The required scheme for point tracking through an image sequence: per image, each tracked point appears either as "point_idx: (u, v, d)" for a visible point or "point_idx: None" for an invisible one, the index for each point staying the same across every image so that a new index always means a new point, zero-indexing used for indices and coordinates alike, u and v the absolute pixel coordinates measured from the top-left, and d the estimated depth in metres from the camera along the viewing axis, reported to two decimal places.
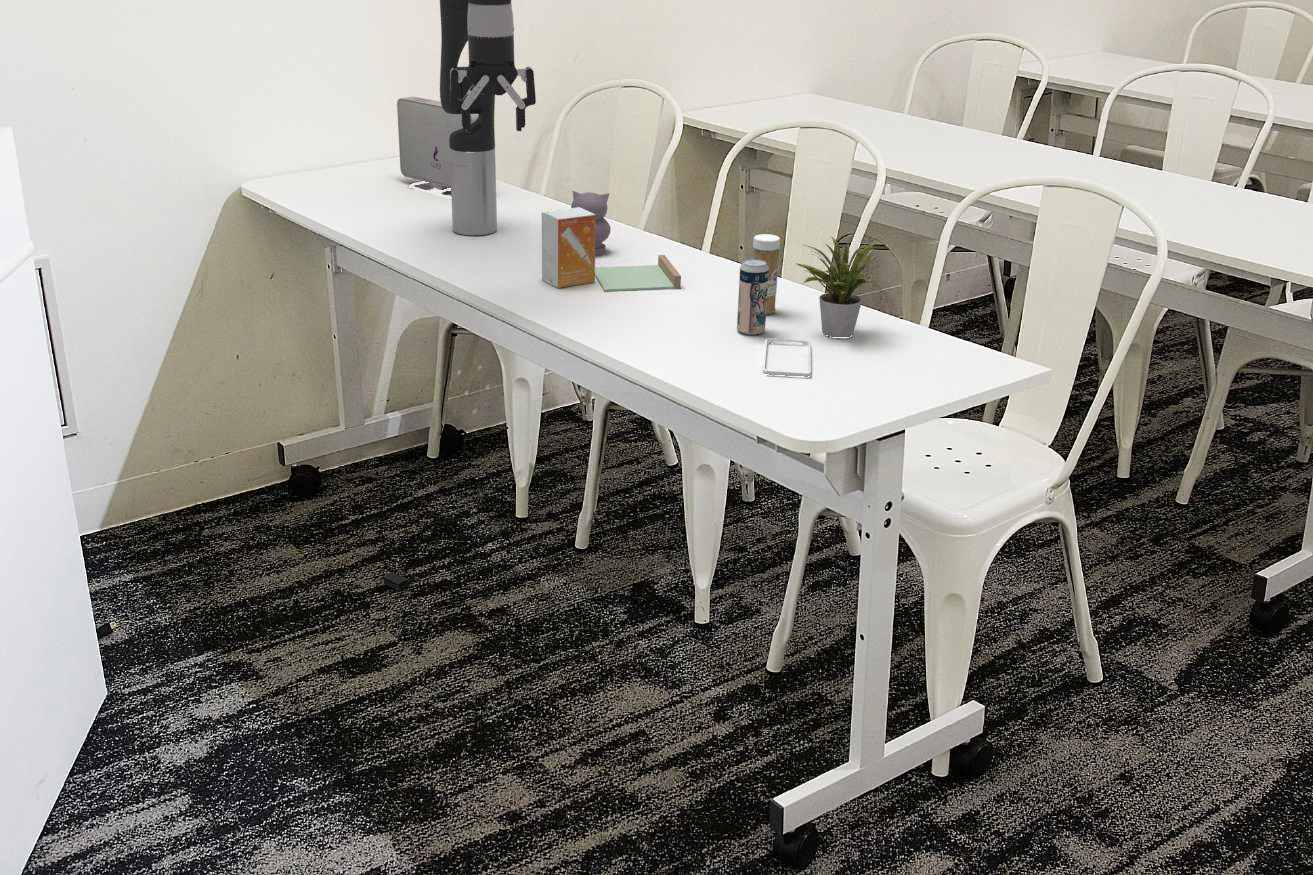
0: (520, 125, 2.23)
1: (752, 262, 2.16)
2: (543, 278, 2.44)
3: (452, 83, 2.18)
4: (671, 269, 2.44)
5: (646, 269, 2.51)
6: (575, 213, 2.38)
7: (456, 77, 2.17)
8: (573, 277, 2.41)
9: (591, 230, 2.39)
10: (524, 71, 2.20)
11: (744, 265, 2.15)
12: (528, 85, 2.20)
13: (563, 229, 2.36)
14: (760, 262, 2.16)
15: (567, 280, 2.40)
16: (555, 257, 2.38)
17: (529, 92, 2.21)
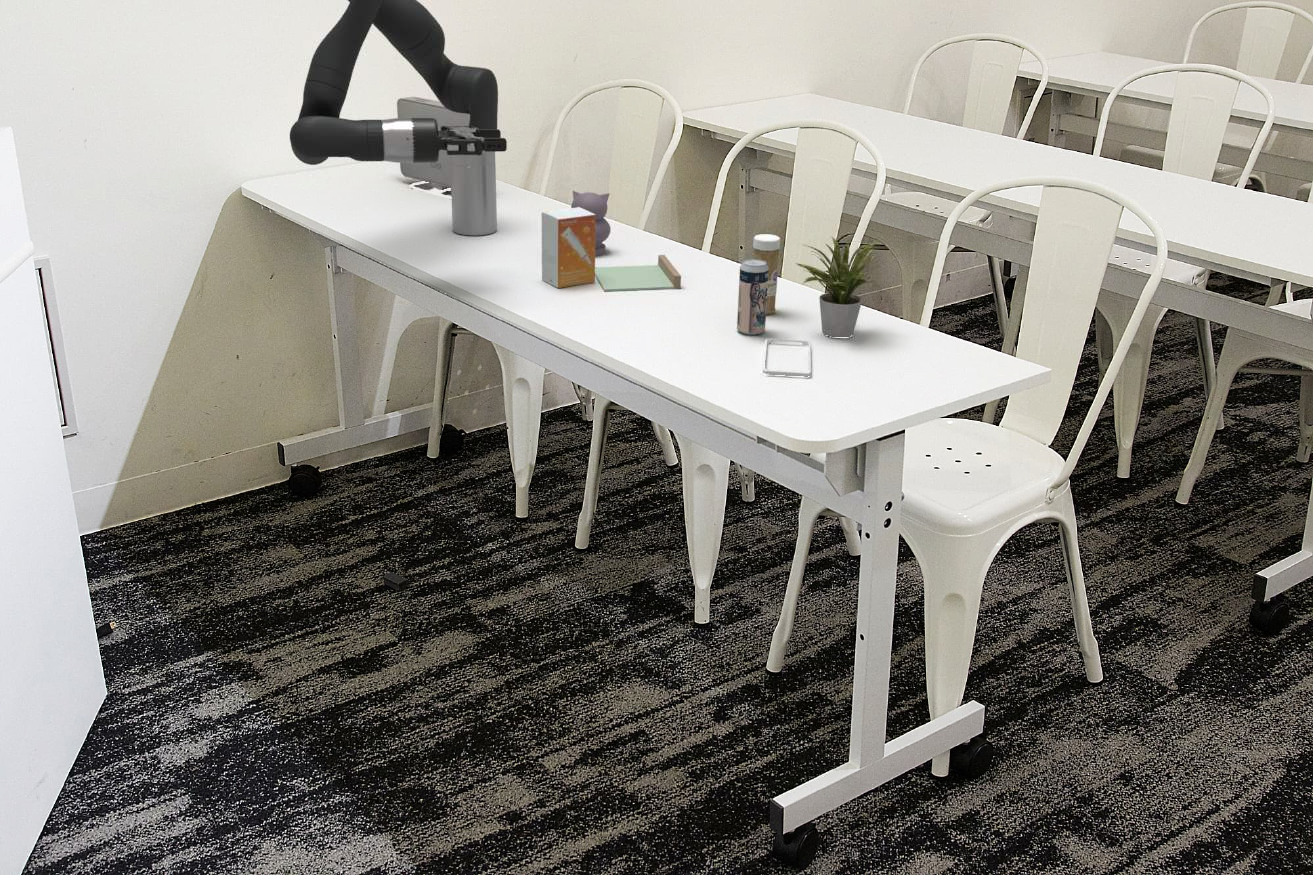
0: None
1: (752, 262, 2.16)
2: (543, 278, 2.44)
3: None
4: (671, 269, 2.44)
5: (646, 269, 2.51)
6: (575, 213, 2.38)
7: None
8: (573, 277, 2.41)
9: (591, 230, 2.39)
10: None
11: (744, 265, 2.15)
12: None
13: (563, 229, 2.36)
14: (760, 262, 2.16)
15: (567, 280, 2.40)
16: (555, 257, 2.38)
17: None
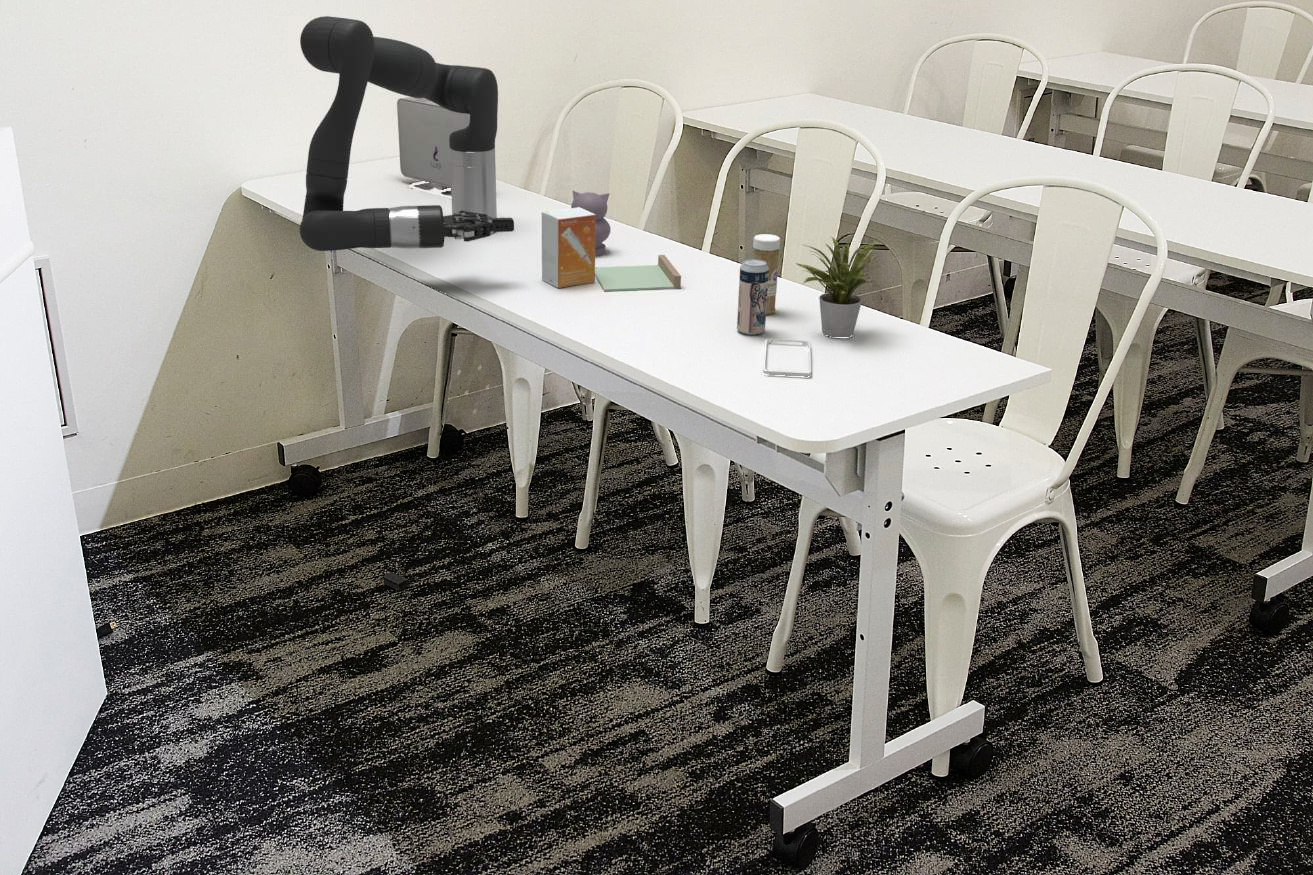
0: None
1: (752, 262, 2.16)
2: (543, 278, 2.44)
3: None
4: (671, 269, 2.44)
5: (646, 269, 2.51)
6: (575, 213, 2.38)
7: None
8: (573, 277, 2.41)
9: (591, 230, 2.39)
10: (463, 235, 2.31)
11: (744, 265, 2.15)
12: None
13: (564, 229, 2.36)
14: (760, 262, 2.16)
15: (567, 280, 2.40)
16: (555, 257, 2.38)
17: None
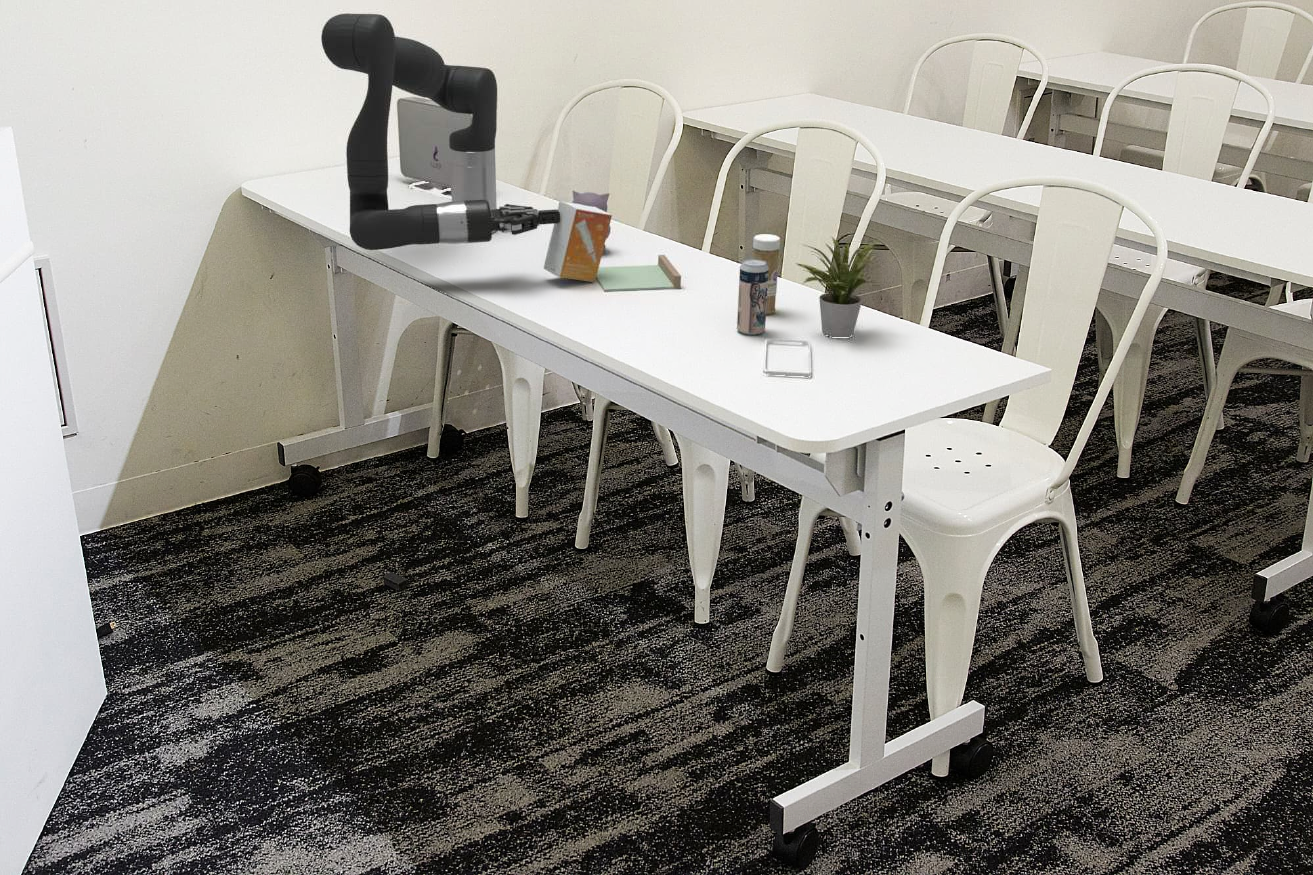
0: (554, 223, 2.39)
1: (752, 262, 2.16)
2: (545, 267, 2.43)
3: None
4: (671, 269, 2.44)
5: (646, 269, 2.51)
6: (592, 209, 2.40)
7: None
8: (576, 271, 2.41)
9: (604, 229, 2.40)
10: None
11: (744, 265, 2.15)
12: None
13: (579, 220, 2.37)
14: (760, 262, 2.16)
15: (570, 272, 2.40)
16: (563, 246, 2.38)
17: None
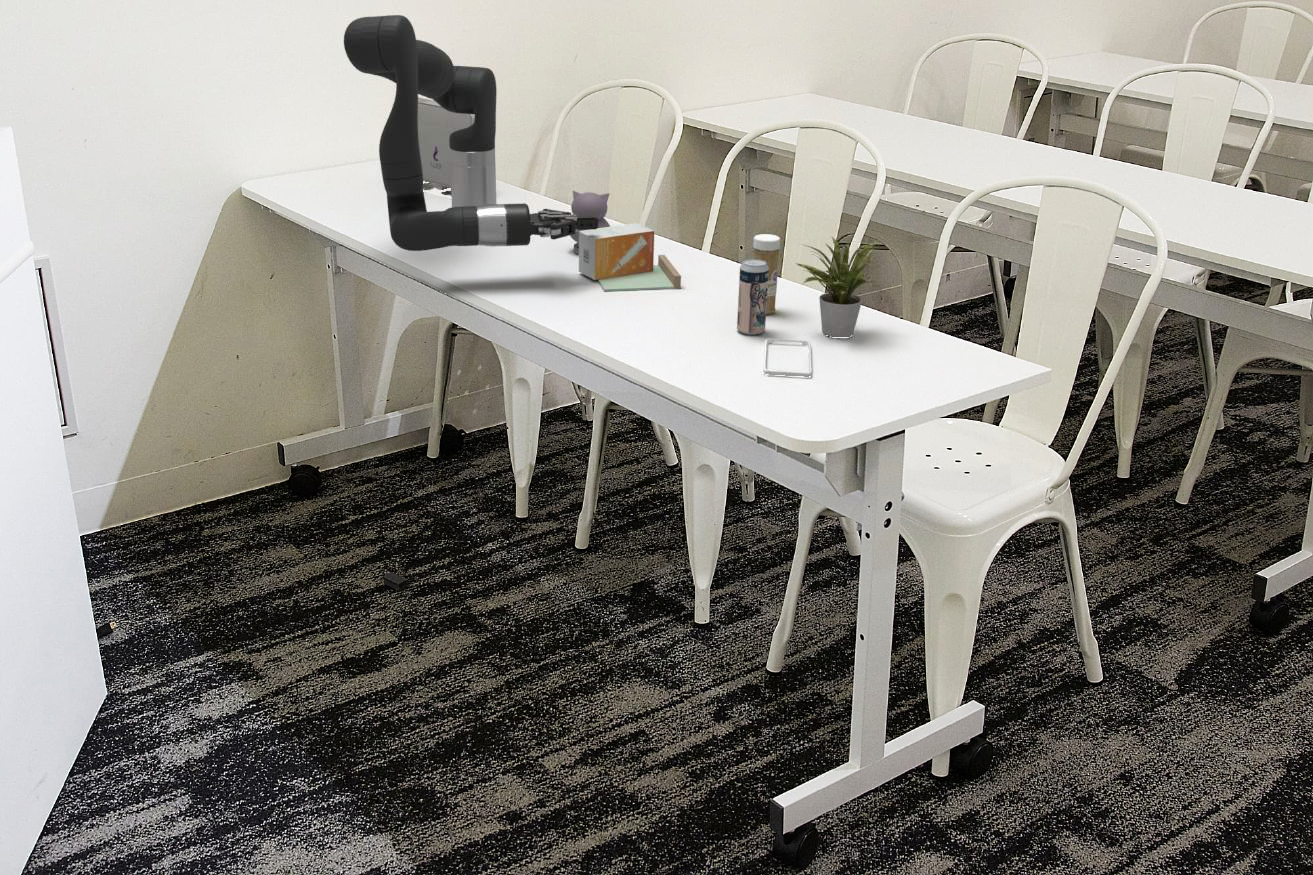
0: None
1: (752, 262, 2.16)
2: (582, 231, 2.45)
3: None
4: (671, 269, 2.44)
5: None
6: None
7: None
8: (602, 255, 2.42)
9: (640, 268, 2.48)
10: None
11: (744, 265, 2.15)
12: None
13: (645, 238, 2.46)
14: (760, 262, 2.16)
15: (601, 248, 2.42)
16: (618, 233, 2.44)
17: None
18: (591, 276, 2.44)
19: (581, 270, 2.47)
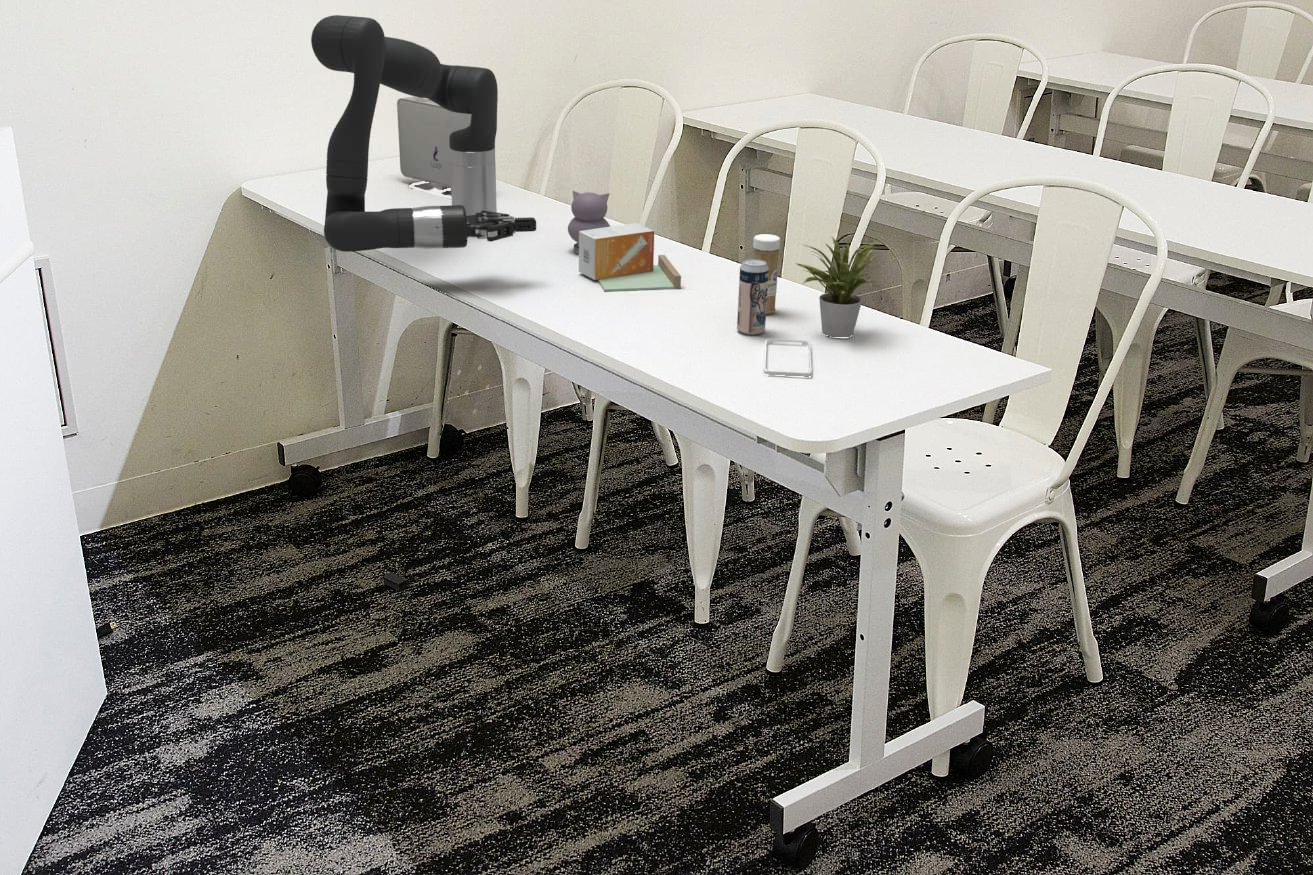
0: None
1: (752, 262, 2.16)
2: (582, 231, 2.45)
3: None
4: (671, 269, 2.44)
5: None
6: None
7: None
8: (602, 255, 2.42)
9: (640, 268, 2.48)
10: None
11: (744, 265, 2.15)
12: None
13: (645, 238, 2.46)
14: (760, 262, 2.16)
15: (601, 248, 2.42)
16: (618, 233, 2.44)
17: None
18: (591, 276, 2.44)
19: (581, 270, 2.47)
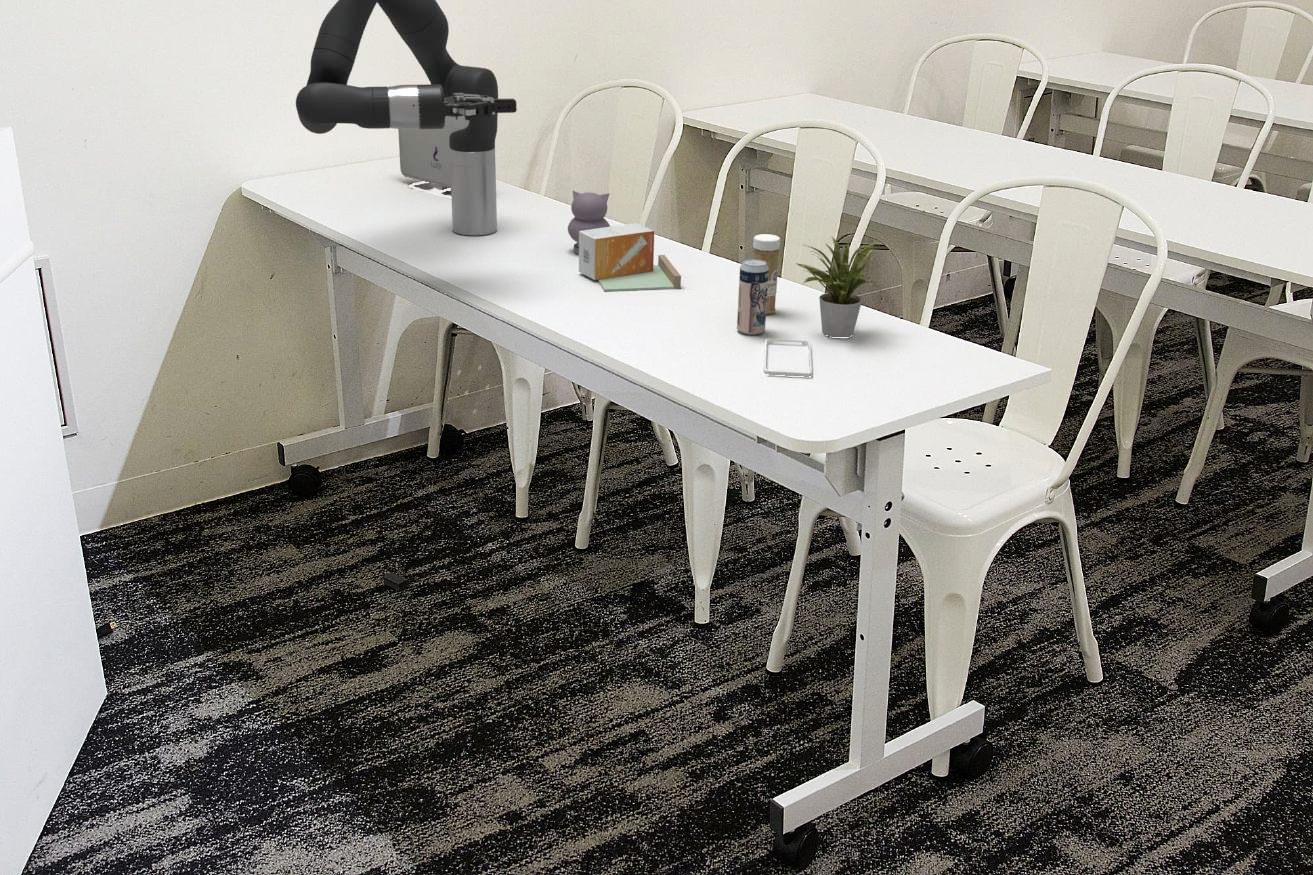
0: (510, 112, 2.31)
1: (752, 262, 2.16)
2: (582, 231, 2.45)
3: None
4: (671, 269, 2.44)
5: None
6: None
7: None
8: (602, 255, 2.42)
9: (640, 268, 2.48)
10: None
11: (744, 265, 2.15)
12: None
13: (645, 238, 2.46)
14: (760, 262, 2.16)
15: (601, 248, 2.42)
16: (618, 233, 2.44)
17: None
18: (591, 276, 2.44)
19: (581, 270, 2.47)
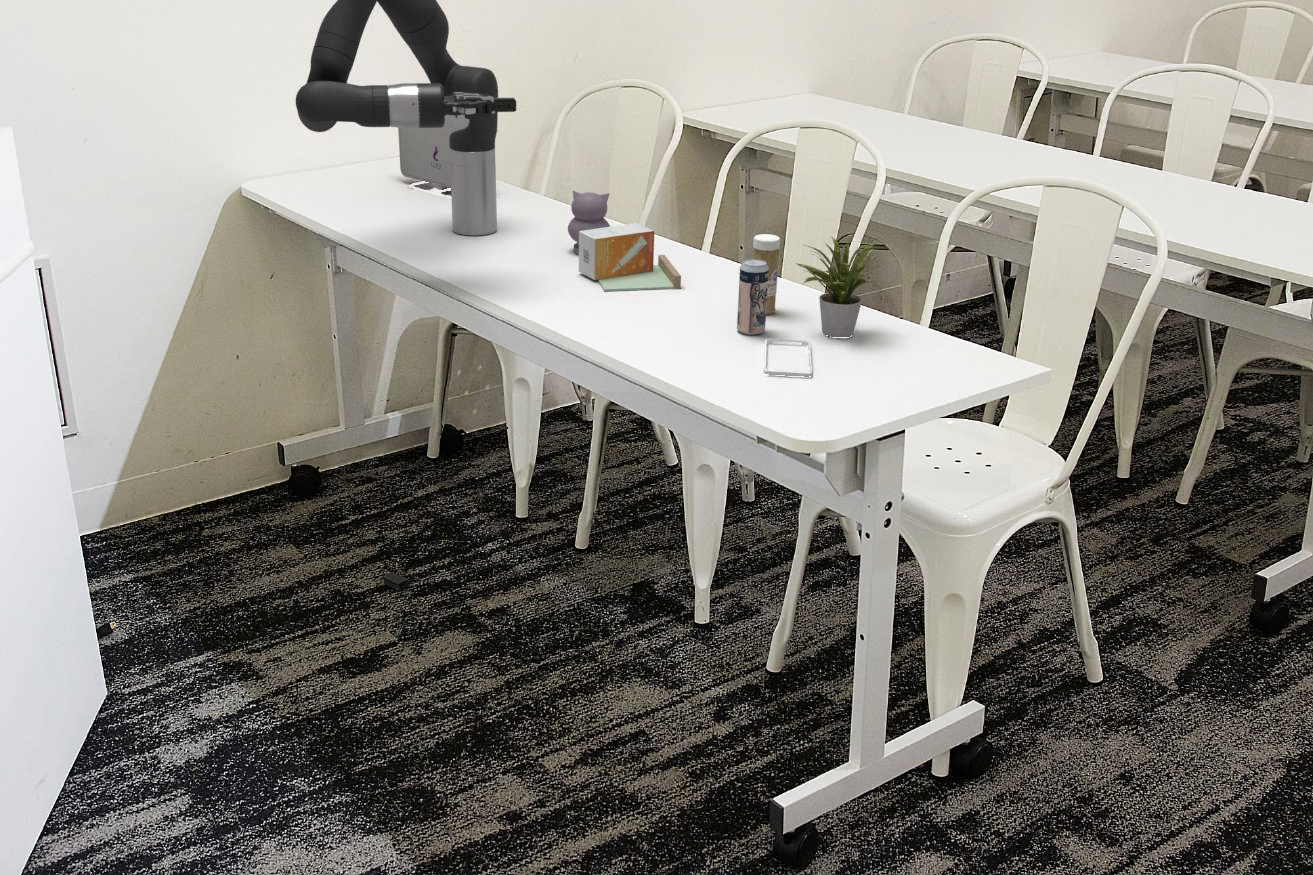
0: (510, 111, 2.31)
1: (752, 262, 2.16)
2: (582, 231, 2.45)
3: None
4: (671, 269, 2.44)
5: None
6: None
7: None
8: (602, 255, 2.42)
9: (640, 268, 2.48)
10: (464, 113, 2.25)
11: (744, 265, 2.15)
12: None
13: (645, 238, 2.46)
14: (760, 262, 2.16)
15: (601, 248, 2.42)
16: (618, 233, 2.44)
17: None
18: (591, 276, 2.44)
19: (581, 270, 2.47)
